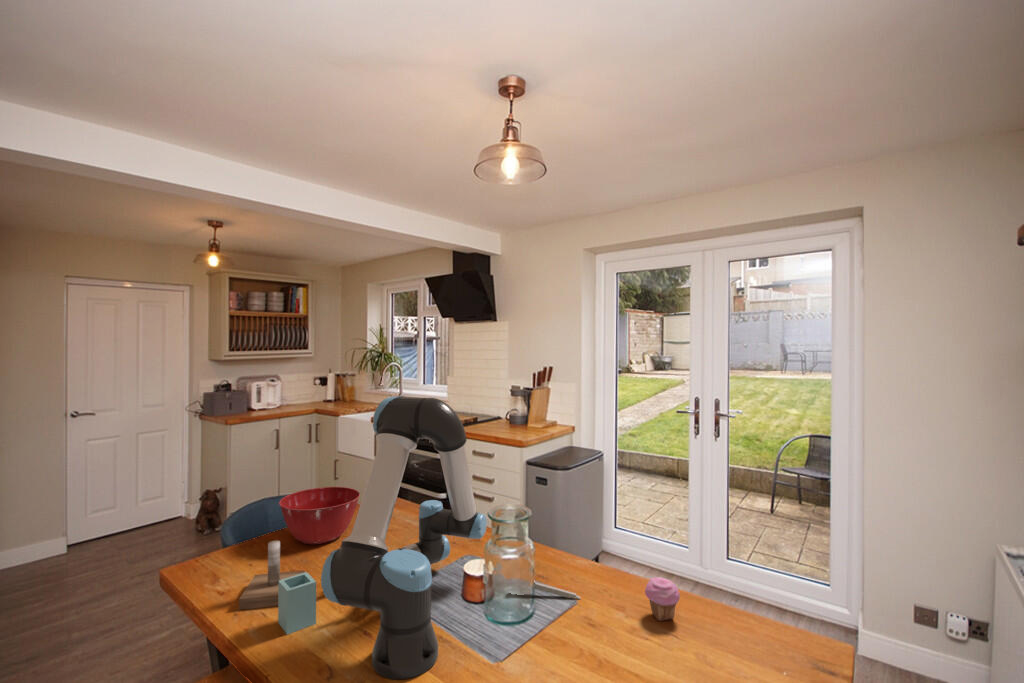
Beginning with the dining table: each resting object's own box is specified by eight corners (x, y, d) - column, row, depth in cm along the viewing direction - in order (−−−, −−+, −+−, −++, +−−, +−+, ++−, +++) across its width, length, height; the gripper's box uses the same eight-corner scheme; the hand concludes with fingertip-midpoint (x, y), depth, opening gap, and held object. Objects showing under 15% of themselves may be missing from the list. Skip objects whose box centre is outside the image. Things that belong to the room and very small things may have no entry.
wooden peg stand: (293, 604, 134) (294, 550, 134) (239, 609, 131) (239, 555, 131) (304, 580, 148) (304, 531, 148) (255, 584, 145) (255, 535, 145)
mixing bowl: (279, 530, 187) (279, 490, 188) (355, 519, 200) (355, 482, 200) (277, 559, 162) (278, 514, 162) (364, 545, 174) (364, 502, 174)
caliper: (510, 594, 141) (511, 573, 141) (511, 592, 142) (511, 571, 142) (580, 600, 137) (580, 578, 137) (580, 598, 138) (580, 577, 138)
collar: (315, 623, 125) (316, 581, 125) (286, 634, 120) (287, 591, 120) (306, 612, 130) (306, 571, 130) (278, 622, 125) (278, 580, 125)
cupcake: (656, 628, 124) (656, 589, 124) (639, 610, 132) (639, 574, 132) (686, 623, 126) (686, 585, 126) (667, 605, 134) (667, 570, 134)
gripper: (425, 588, 137) (354, 616, 123) (384, 558, 155) (318, 580, 141) (425, 562, 137) (354, 587, 123) (384, 535, 155) (318, 555, 141)
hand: (335, 584), depth 132 cm, fingers open, 13 cm apart
